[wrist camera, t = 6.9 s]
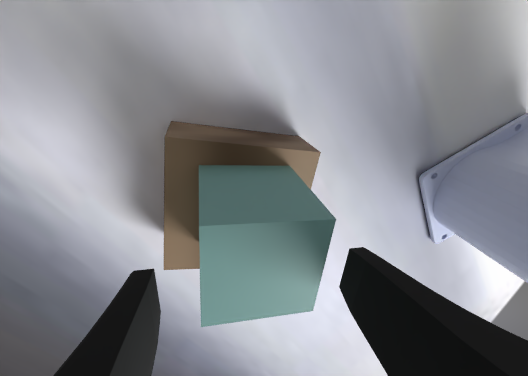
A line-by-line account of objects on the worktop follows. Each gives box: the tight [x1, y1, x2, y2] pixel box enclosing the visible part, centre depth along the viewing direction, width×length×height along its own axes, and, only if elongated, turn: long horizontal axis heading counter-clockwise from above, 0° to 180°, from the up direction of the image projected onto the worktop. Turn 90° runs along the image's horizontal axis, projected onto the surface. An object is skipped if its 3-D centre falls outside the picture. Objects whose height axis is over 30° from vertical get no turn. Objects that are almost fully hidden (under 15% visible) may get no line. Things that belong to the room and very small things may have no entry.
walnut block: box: [164, 121, 321, 270], centre depth 15 cm, size 8×8×4 cm
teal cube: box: [199, 165, 336, 327], centre depth 11 cm, size 4×4×5 cm
